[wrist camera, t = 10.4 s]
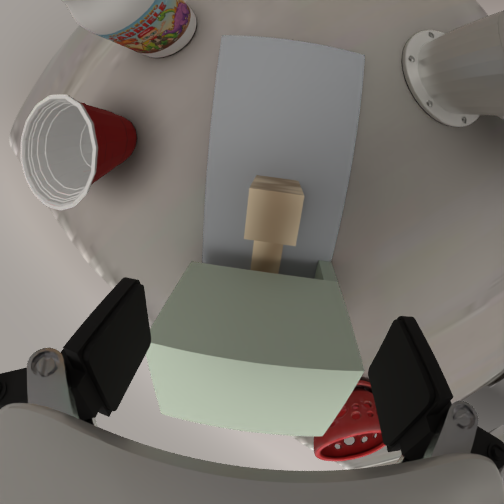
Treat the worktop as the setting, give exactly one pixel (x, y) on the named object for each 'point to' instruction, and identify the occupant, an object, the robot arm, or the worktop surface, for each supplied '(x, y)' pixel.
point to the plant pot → (352, 428)
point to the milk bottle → (138, 23)
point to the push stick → (272, 219)
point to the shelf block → (254, 350)
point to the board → (280, 143)
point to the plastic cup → (71, 148)
